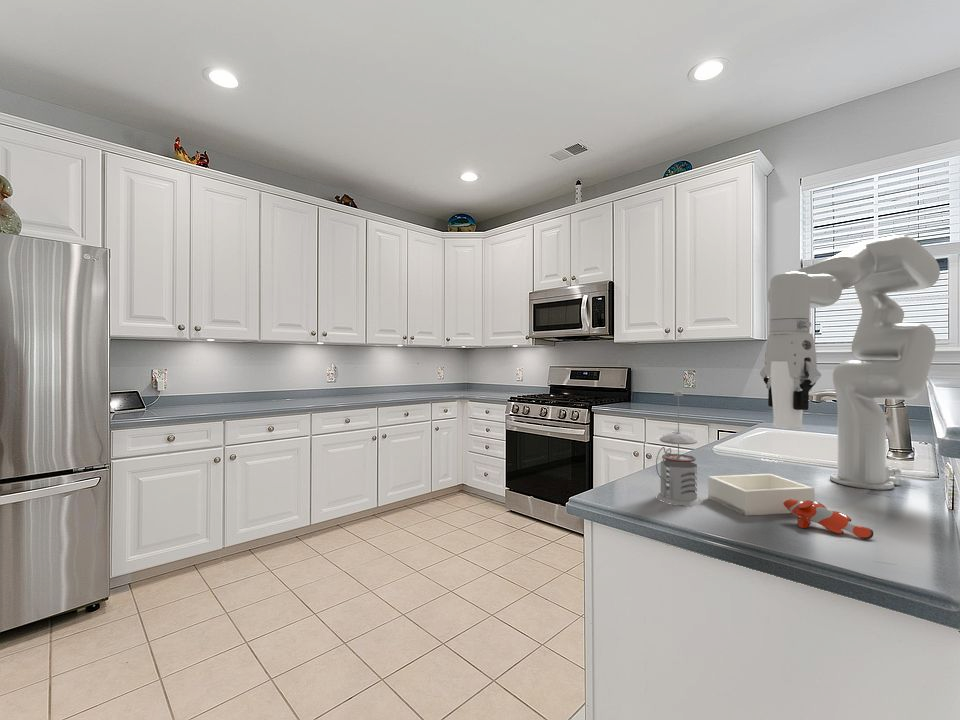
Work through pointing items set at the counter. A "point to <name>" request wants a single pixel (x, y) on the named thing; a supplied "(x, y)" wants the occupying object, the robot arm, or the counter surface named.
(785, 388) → the drinking glass
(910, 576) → the counter surface
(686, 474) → the french press
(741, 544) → the counter surface
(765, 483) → the bin
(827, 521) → the fish
